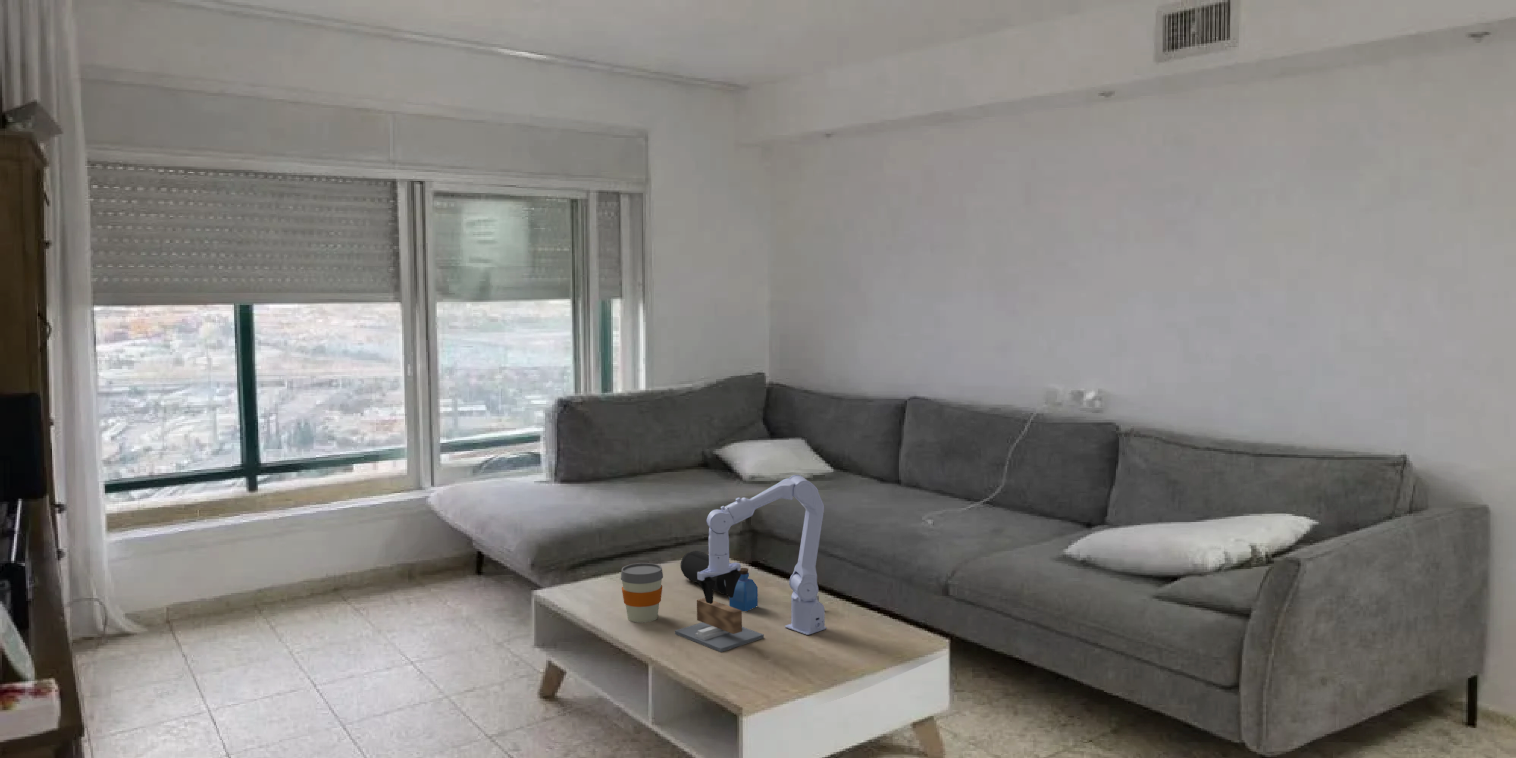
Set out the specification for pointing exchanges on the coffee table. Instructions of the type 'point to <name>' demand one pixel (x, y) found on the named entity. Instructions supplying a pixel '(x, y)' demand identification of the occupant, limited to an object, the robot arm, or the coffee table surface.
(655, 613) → the reusable coffee cup
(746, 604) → the perfume bottle
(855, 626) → the coffee table surface
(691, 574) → the portable speaker
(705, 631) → the ridge stand
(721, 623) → the walnut bar
